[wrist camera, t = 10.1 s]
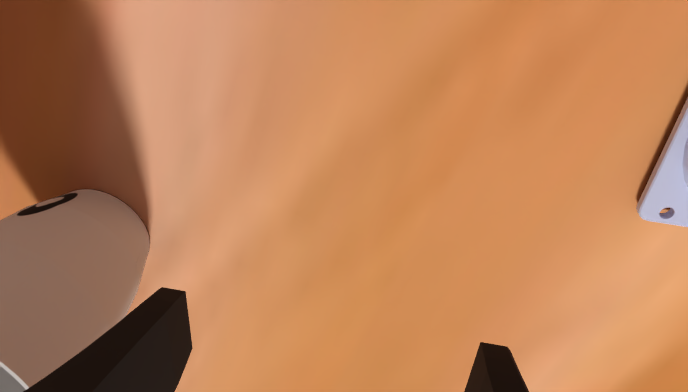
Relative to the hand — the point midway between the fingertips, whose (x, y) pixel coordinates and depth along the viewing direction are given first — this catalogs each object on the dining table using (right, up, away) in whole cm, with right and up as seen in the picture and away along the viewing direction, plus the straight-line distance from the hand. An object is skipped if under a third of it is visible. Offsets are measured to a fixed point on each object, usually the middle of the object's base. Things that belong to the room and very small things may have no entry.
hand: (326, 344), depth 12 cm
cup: (-12, +2, +14) cm, 19 cm away
